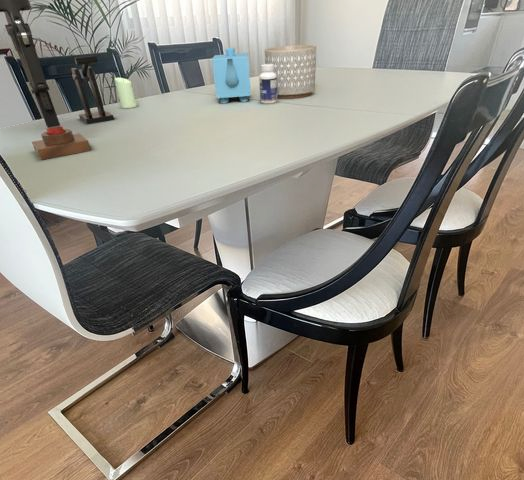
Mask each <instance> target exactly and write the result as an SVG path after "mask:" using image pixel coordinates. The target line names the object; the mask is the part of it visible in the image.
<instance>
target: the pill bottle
mask: <svg viewBox="0 0 524 480" xmlns="http://www.w3.org/2000/svg"><path fill="white" fill-rule="evenodd" d="M260 70H261V73H259V76H258V77H259V80H258V81H259V98H260V104H265V105H267V104H268V105H269V104H270V105H271V104H276V103H277V102H278V98H277V75H276V73H274V64H265V63H263V64H261V65H260Z"/></svg>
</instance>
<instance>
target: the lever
mask: <svg viewBox="0 0 524 480" xmlns="http://www.w3.org/2000/svg"><path fill="white" fill-rule="evenodd" d="M74 62H75V65H77V66H81V65H82V66H81V68H78V71H79V75H80V78H81V81H82V83H90V81H89V79H90V77H89V74H88V72H87V71H88V66H89V65H91V64H98V63H99V60H98V57H97V55H88V56H79V57H74ZM89 67H90V66H89Z"/></svg>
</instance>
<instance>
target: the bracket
mask: <svg viewBox="0 0 524 480" xmlns="http://www.w3.org/2000/svg"><path fill="white" fill-rule="evenodd" d="M70 70H71V73H72V74H71V75H72V79H73V81H74V83H75V87H76V89H77V92H78V95H79V98H80V102H81V105H82V108H83V111H84V113H81V114H78V117H79V119H80V120H81V121H82V122H84V123H85V124H87V125H90V124H96V123H97V124H98V123H102V122H108V121H114V120H115V117H114V115H113V114H112V113H110V112H108V111H106V110H105V107H104V104H103V101H102V96H101V93H100V89H99V87H98V86H99V85H98V82H97V80H96V79H97V78H96V73H95V71H94V69H93V67H92V66H88V71H87V72H88V74H89V77H90V79H89V85H90V88H91V91H92V94H93V98H94V102H95V105H96V108H97V111H91V108H90V104H89V101H88V98H87V95H86V92H85V88H84V85H83V82H82V81H81V78H80V75H79V71H78V70H79V68H76V67H71V68H70Z"/></svg>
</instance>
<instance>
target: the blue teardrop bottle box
mask: <svg viewBox="0 0 524 480" xmlns="http://www.w3.org/2000/svg"><path fill="white" fill-rule="evenodd" d="M224 51H225V54H216V55H214V56H213V57H212V58H211V64H212V72H213V80H214V89H215V98H216V99H220V102H219V103H220V104H227V103H229V100H230V98H239V101H240V102H249V97H251V96H252V92H251V77H250V62H249V52H242V53H240V52H239V53H235V52H236V48H235V47H226V48H225V49H224Z"/></svg>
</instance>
